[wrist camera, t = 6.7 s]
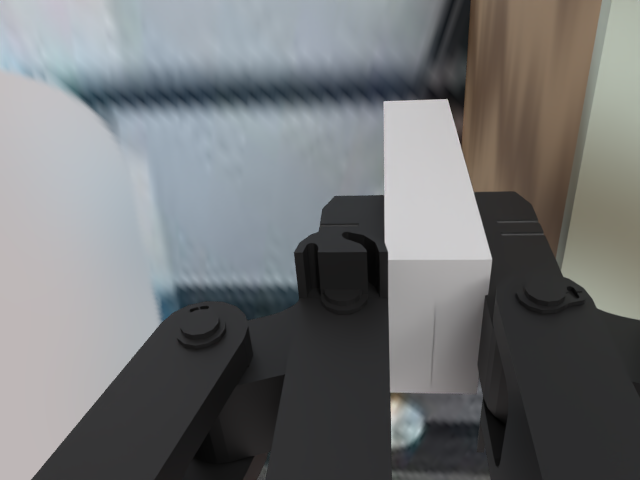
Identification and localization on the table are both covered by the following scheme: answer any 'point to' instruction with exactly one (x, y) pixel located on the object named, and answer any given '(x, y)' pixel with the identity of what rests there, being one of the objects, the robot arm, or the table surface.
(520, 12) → the block
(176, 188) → the table surface
